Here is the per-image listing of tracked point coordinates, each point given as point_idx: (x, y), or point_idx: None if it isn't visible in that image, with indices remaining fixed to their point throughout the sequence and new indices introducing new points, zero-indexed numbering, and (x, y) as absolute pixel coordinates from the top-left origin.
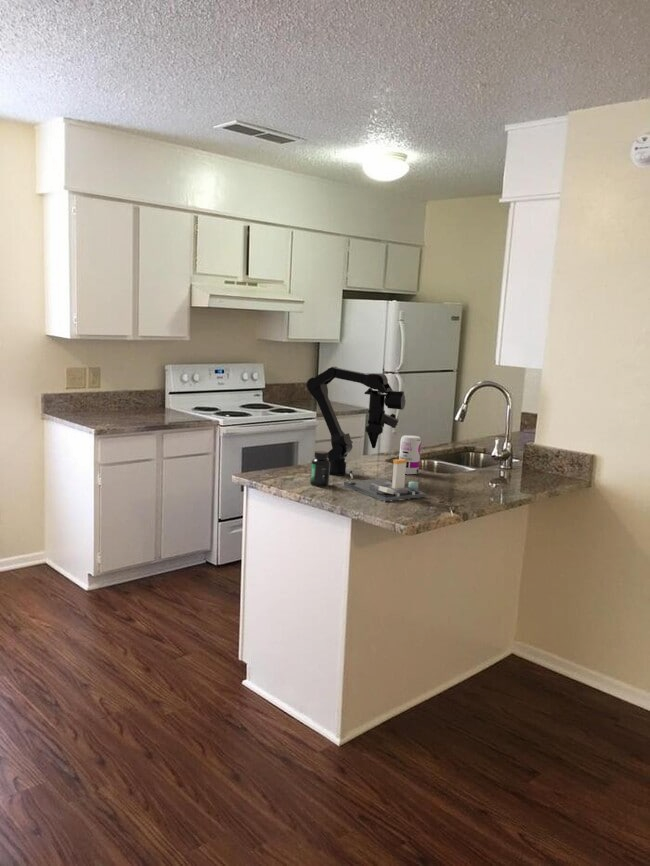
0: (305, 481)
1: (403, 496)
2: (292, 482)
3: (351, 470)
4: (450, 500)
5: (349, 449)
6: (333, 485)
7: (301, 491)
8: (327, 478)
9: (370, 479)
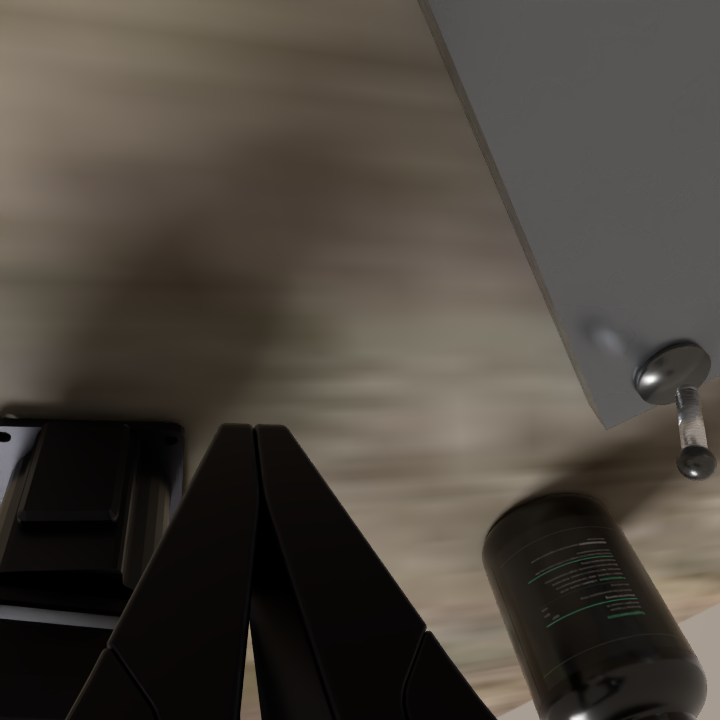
0: (451, 599)
1: None
2: (483, 638)
3: (707, 471)
4: None
5: (78, 677)
6: (566, 464)
7: (697, 581)
8: (627, 546)
9: (510, 192)
